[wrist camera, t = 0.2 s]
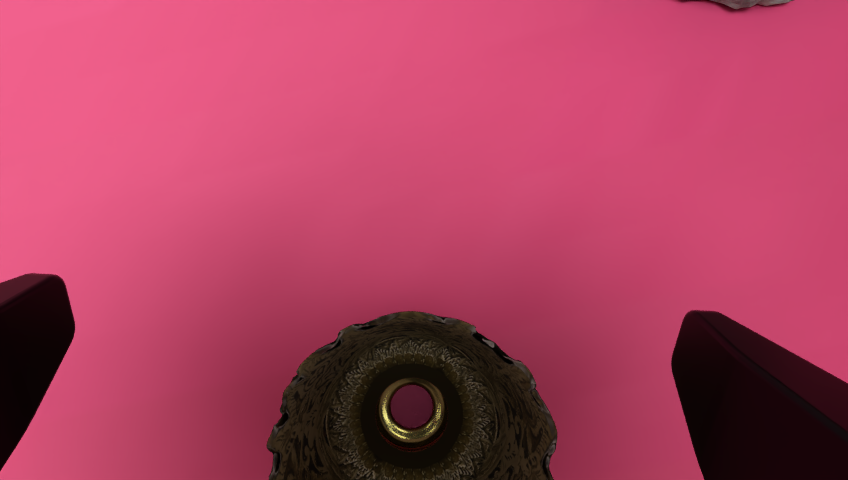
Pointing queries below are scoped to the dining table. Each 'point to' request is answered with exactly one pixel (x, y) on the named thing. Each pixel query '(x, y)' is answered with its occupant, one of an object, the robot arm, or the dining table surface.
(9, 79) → the dining table surface
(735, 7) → the dark grey rock
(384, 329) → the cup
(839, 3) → the dining table surface
